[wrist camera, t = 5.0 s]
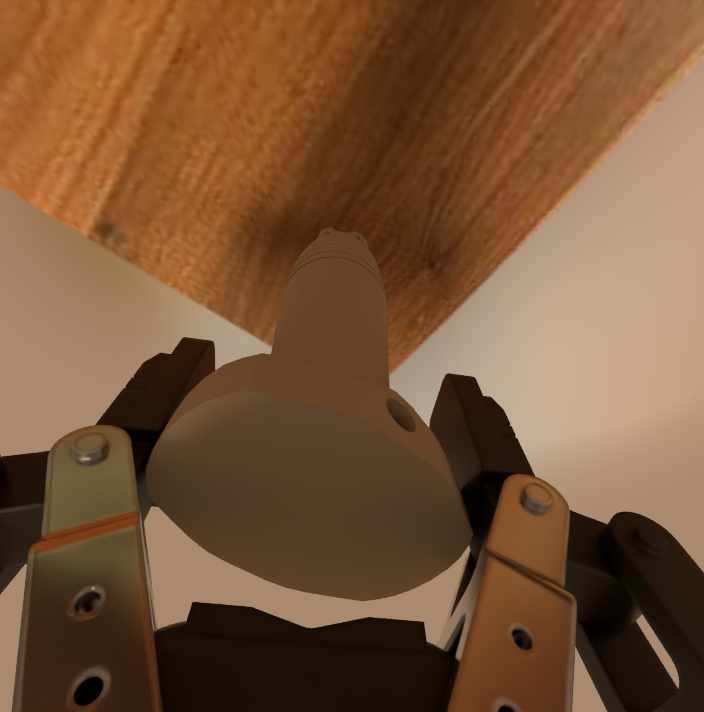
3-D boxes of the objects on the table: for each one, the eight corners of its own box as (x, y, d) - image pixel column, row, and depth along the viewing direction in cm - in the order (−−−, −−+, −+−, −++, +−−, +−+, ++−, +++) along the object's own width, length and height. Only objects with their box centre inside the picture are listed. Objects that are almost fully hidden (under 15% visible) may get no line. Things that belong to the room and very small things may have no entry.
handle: (355, 327, 23) (357, 622, 10) (257, 251, 21) (102, 505, 8) (420, 263, 21) (522, 526, 8) (319, 170, 19) (246, 337, 6)
